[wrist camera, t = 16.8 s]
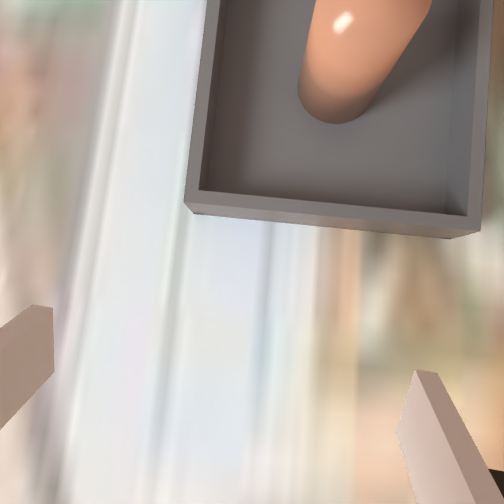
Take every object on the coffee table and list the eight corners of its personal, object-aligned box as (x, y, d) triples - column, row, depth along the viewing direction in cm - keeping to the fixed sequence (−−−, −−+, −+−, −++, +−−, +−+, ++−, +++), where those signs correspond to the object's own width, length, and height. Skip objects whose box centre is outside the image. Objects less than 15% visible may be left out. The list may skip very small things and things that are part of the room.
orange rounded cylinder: (376, 55, 37) (437, -58, 25) (369, 128, 36) (427, 48, 24) (301, 46, 37) (326, -70, 25) (293, 119, 36) (314, 35, 24)
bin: (466, -25, 38) (497, -72, 33) (449, 239, 36) (480, 231, 31) (223, -46, 39) (218, -95, 34) (193, 213, 37) (183, 201, 32)
